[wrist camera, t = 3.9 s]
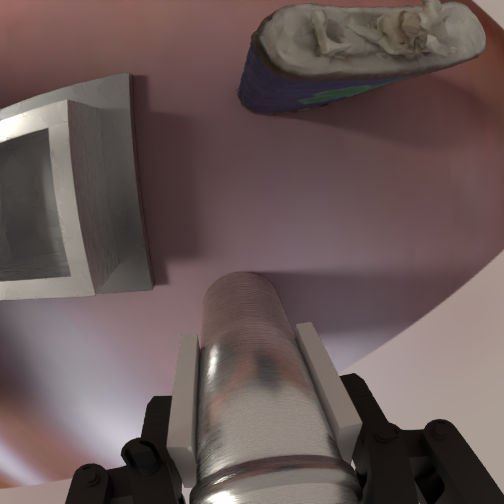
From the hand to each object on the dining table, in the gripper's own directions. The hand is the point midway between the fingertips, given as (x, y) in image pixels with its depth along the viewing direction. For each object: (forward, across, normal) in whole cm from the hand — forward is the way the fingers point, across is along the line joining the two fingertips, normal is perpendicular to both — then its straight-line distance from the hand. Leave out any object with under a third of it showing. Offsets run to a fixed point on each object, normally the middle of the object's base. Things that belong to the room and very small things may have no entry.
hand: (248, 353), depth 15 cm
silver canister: (+5, 0, 0) cm, 5 cm away
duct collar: (+5, -11, +8) cm, 14 cm away
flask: (+5, +5, +13) cm, 15 cm away
